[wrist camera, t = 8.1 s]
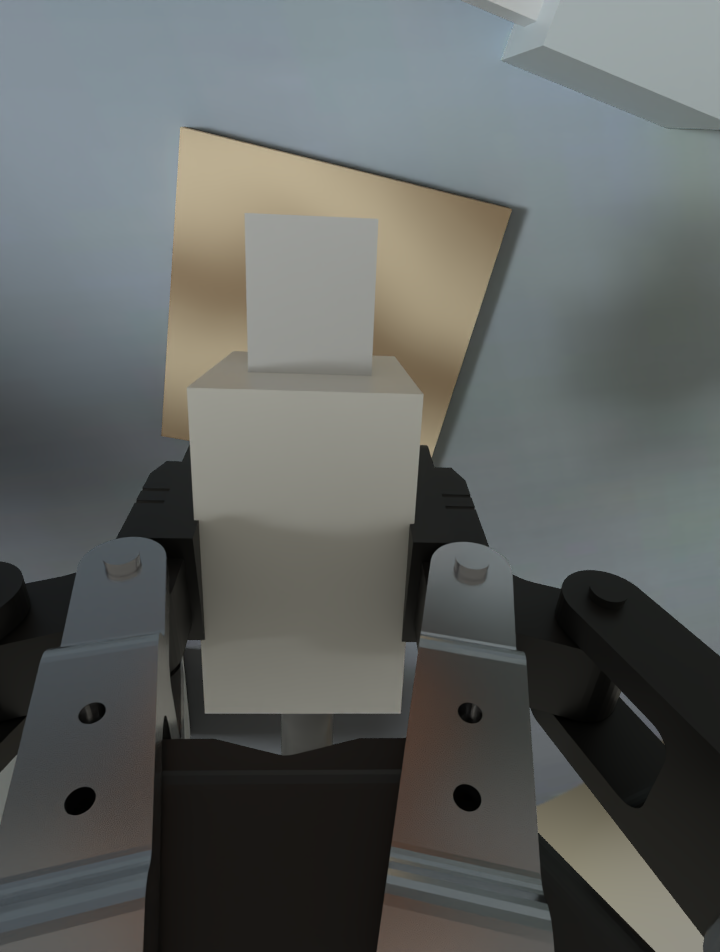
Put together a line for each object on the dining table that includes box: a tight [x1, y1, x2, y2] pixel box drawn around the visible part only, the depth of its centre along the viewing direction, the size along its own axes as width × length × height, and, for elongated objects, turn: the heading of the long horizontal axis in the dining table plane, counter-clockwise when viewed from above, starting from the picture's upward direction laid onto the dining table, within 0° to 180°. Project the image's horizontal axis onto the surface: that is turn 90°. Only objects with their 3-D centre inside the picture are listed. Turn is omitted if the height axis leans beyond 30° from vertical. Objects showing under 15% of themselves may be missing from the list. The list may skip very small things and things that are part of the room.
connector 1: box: [187, 213, 424, 755], centre depth 12 cm, size 12×4×4 cm, turn 178°
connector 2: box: [461, 0, 720, 130], centre depth 16 cm, size 12×4×4 cm, turn 72°
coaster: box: [161, 127, 512, 458], centre depth 22 cm, size 11×11×1 cm
